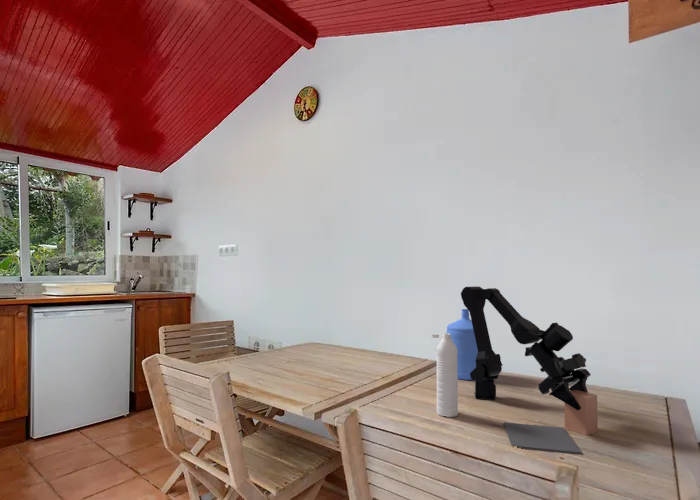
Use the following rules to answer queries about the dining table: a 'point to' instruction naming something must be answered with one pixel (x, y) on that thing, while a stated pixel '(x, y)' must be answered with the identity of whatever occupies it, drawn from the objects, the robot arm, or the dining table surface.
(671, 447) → the dining table surface
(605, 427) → the dining table surface
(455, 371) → the water bottle
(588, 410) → the pink upright block
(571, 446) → the charcoal mat
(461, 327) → the water jug
